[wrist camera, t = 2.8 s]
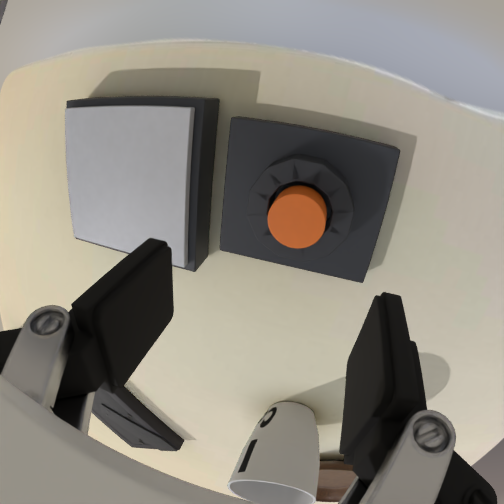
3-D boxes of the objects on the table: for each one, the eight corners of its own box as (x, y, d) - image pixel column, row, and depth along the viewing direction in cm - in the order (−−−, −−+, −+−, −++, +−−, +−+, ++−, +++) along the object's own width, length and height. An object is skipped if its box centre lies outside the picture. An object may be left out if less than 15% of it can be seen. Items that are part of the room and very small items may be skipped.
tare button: (270, 229, 18) (263, 242, 17) (277, 180, 17) (271, 188, 15) (321, 240, 18) (318, 254, 16) (331, 191, 16) (331, 200, 15)
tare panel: (224, 243, 23) (209, 262, 20) (236, 116, 18) (220, 118, 16) (362, 274, 21) (364, 299, 18) (397, 147, 17) (407, 155, 14)
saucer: (403, 467, 32) (403, 483, 29) (339, 494, 39) (337, 507, 37) (320, 442, 32) (317, 460, 29) (264, 471, 39) (260, 486, 37)
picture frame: (184, 440, 40) (98, 359, 36) (178, 451, 38) (89, 371, 34) (136, 439, 46) (65, 371, 42) (131, 448, 44) (57, 380, 40)
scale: (92, 227, 26) (70, 241, 23) (87, 98, 20) (60, 101, 17) (208, 256, 24) (191, 276, 21) (220, 98, 18) (200, 98, 15)
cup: (262, 384, 29) (232, 471, 20) (340, 403, 28) (329, 493, 19) (249, 422, 33) (223, 494, 24) (315, 438, 32) (300, 512, 23)
